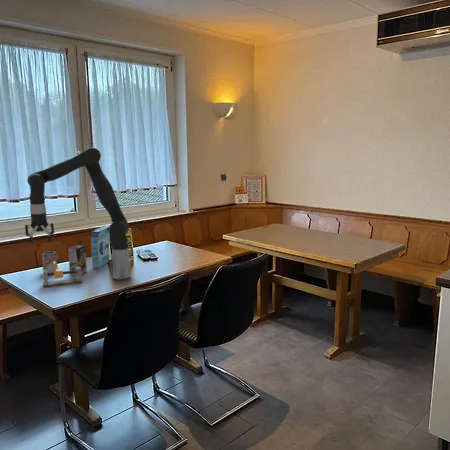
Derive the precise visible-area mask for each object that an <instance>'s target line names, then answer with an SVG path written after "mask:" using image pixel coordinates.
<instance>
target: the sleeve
mask: <svg viewBox="0 0 450 450" xmlns="http://www.w3.org/2000/svg"><path fill="white" fill-rule="evenodd" d="M53 267H54V276H53V279H61V278H64V274H63V272H64V270H63V268H58V269H56V262H53Z"/></svg>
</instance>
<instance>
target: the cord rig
mask: <svg viewBox="0 0 450 450" xmlns="http://www.w3.org/2000/svg"><path fill="white" fill-rule="evenodd" d="M42 272H43V273H42V274H43V282H42V286H43V288H52V287H59V286H68V285H75V284H83V278H82V274H81V268H80V267H76V270H75V269H74V270H73V271H70V270H67V271H66V270H65V271H64V270H63V275H70V274H72V273H74V274H75V273H76V275H75V278H68V279H67V278H66V279H61V280H60V279H59V280H51V281H49V277H52V276H53V277H54V273H47V269H46V270H43V269H42Z"/></svg>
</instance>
